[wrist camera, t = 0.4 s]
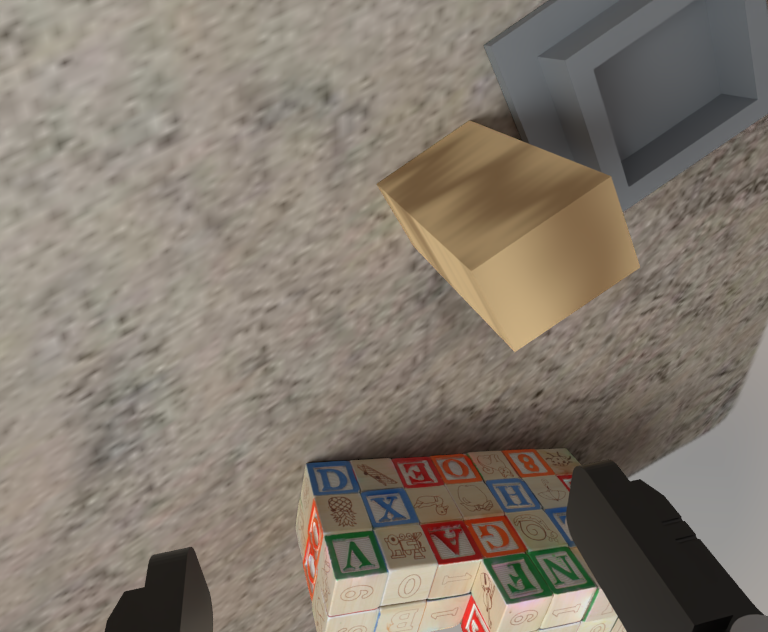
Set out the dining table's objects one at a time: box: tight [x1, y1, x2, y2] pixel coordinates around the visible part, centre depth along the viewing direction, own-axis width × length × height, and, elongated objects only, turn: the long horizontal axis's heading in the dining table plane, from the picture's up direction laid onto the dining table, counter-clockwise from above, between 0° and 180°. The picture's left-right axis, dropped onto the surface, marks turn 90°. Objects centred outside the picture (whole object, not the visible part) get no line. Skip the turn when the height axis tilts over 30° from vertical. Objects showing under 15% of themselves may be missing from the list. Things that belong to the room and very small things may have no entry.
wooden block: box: [377, 120, 640, 352], centre depth 26 cm, size 6×4×12 cm
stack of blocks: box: [296, 448, 627, 632], centre depth 38 cm, size 21×6×12 cm, turn 79°
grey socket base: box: [484, 0, 768, 212], centre depth 31 cm, size 15×13×3 cm
